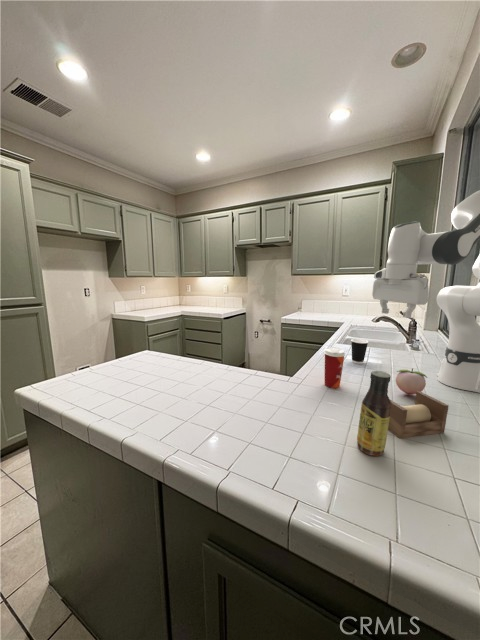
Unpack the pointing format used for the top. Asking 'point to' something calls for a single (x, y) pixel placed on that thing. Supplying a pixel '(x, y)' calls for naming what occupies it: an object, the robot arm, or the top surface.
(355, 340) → the dixie cup
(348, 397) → the top surface
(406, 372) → the decorative fruit
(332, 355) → the paper cup
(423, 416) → the roll
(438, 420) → the holder
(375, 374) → the sauce bottle
